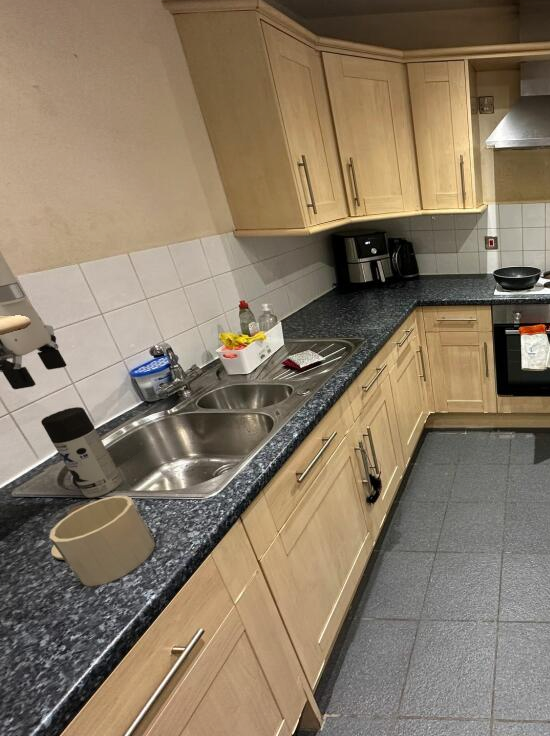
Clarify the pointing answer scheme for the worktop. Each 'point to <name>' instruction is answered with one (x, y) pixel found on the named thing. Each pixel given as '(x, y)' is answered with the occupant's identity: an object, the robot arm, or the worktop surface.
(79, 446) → the spray can
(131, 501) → the pot
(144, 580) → the worktop surface
